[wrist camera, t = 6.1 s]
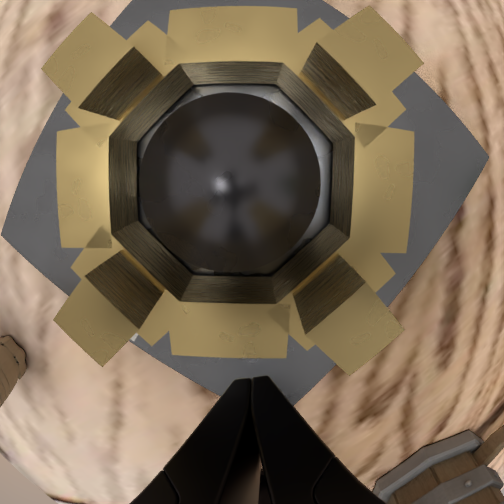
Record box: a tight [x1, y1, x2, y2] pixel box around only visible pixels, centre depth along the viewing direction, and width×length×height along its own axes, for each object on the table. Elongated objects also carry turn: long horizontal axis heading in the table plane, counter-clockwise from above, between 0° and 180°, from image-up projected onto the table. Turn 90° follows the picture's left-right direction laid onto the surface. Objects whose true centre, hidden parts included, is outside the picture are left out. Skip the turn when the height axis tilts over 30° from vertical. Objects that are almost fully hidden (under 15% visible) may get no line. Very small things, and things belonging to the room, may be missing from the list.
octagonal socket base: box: [41, 6, 424, 376], centre depth 10 cm, size 13×13×6 cm
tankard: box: [373, 425, 504, 504], centre depth 14 cm, size 20×13×15 cm, turn 141°
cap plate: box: [1, 0, 489, 406], centre depth 13 cm, size 20×20×4 cm
